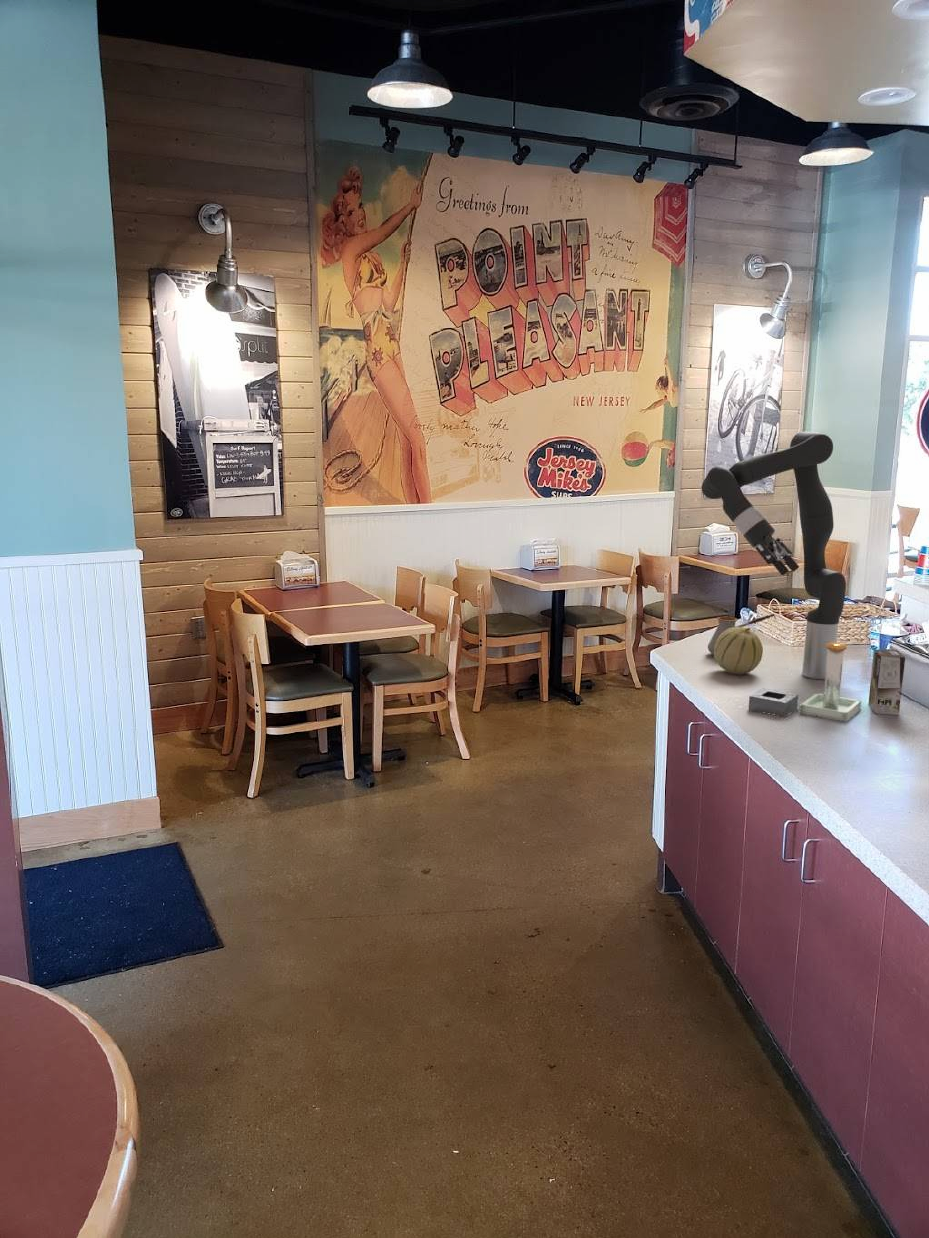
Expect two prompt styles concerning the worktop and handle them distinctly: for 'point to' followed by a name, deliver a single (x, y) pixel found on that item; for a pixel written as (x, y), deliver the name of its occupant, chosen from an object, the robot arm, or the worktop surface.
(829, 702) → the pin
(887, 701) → the coffee box
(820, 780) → the worktop surface
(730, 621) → the coffee pot
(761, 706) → the socket block
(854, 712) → the tray
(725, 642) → the cantaloupe
